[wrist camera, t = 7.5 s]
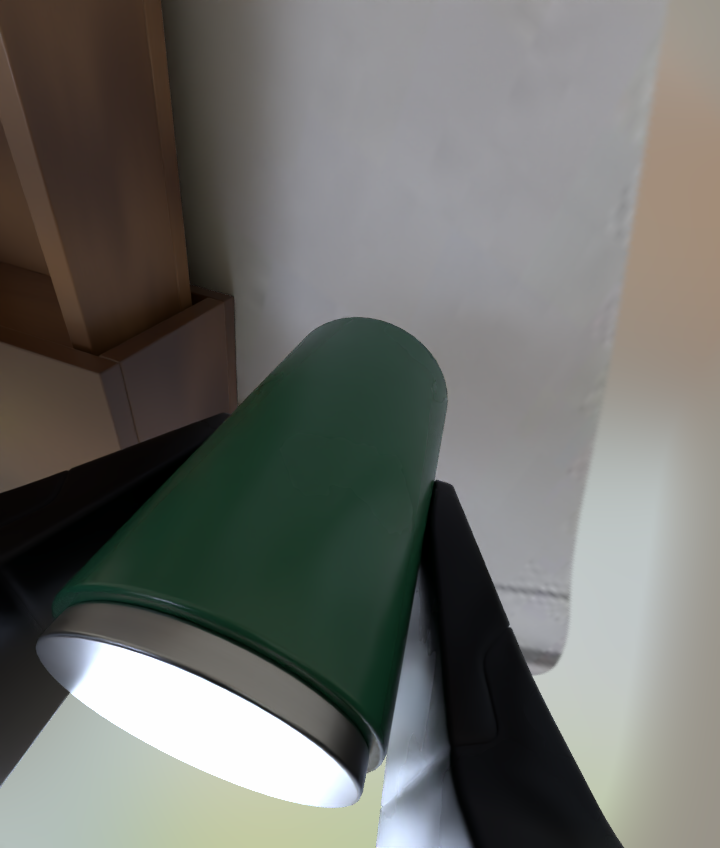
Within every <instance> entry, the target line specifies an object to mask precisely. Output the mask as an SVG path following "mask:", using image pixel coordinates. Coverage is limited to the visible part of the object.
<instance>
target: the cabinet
mask: <svg viewBox="0 0 720 848" xmlns="http://www.w3.org/2000/svg"><path fill="white" fill-rule="evenodd" d="M190 290H191V300H192V306H191V307H189V308H187V309H186V310H184V311H182V312H180V313H178V314H176V315H174V316H172V317H171V318H169V319H167V320H165V321H163V322H161V323H159V324H157V325H156V326H154V327H152V328H150V329H148V330H146V331H144V332H142V333H141V334H139V335H137V336H135V337H133V338H131V339H129V340H127V341H126V342H124V343H122V344H120V345H118V346H116V347H114V348H112V349H110V350H109V351H107V352H105V353H103V354H101V355H100V356H99V357H98V356H95V355H92V354H89V353H86V352H83V351H79V350H76V349H73V348H70V347H67V346H64V345H60V344H57V343H54V342H51V341H48V340H44V339H41V338H38V337H35V336H32V335H29V334H25V333H22V332H19V331H16V330H13V329H10V328H6V327H3V326H0V493H2V492H5V491H8V490H11V489H15V488H18V487H20V486H23V485H26V484H29V483H32V482H35V481H37V480H40V479H43V478H46V477H49V476H51V475H54V474H57V473H59V472H62V471H65V470H68V471H69V470H70V469H71V468H73V467H76V466H79V465H81V464H84V463H87V462H89V461H92V460H95V459H98V458H100V457H103V456H106V455H108V454H111V453H114V452H116V451H119V450H122V449H124V448H127V447H130V446H133V445H135V444H138V443H141V442H143V441H146V440H149V439H151V438H154V437H157V436H160V435H162V434H165V433H168V432H170V431H173V430H176V429H178V428H181V427H184V426H187V425H189V424H192V423H195V422H197V421H200V420H203V419H205V418H208V417H211V416H213V415H216V414H219V413H222V412H225V413H229V414H232V413H233V412H234V411H235V410H236V409H237V380H236V349H235V319H234V297H233V296H230V295H227V294H223V293H220V292H216V291H213V290H209V289H206V288H202V287H198V286H195V285H191V284H190Z"/></svg>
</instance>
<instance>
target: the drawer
mask: <svg viewBox="0 0 720 848" xmlns="http://www.w3.org/2000/svg"><path fill="white" fill-rule="evenodd" d="M191 306H192V300H191V290H190V280H189V271H188V261H187V251H186V241H185V231H184V222H183V212H182V202H181V192H180V182H179V172H178V163H177V153H176V143H175V133H174V123H173V113H172V104H171V94H170V84H169V74H168V64H167V55H166V45H165V35H164V25H163V15H162V5H161V0H0V326H3V327H6V328H10V329H13V330H16V331H19V332H22V333H25V334H29V335H32V336H35V337H38V338H41V339H44V340H48V341H51V342H54V343H57V344H60V345H64V346H67V347H70V348H73V349H76V350H79V351H83V352H86V353H89V354H92V355H95V356H98V357H99V356H100V355H101V354H103V353H105V352H107V351H109V350H110V349H112V348H114V347H116V346H118V345H120V344H122V343H124V342H126V341H127V340H129V339H131V338H133V337H135V336H137V335H139V334H141V333H142V332H144V331H146V330H148V329H150V328H152V327H154V326H156V325H157V324H159V323H161V322H163V321H165V320H167V319H169V318H171V317H172V316H174V315H176V314H178V313H180V312H182V311H184V310H186V309H187V308H189V307H191Z"/></svg>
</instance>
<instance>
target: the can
mask: <svg viewBox="0 0 720 848" xmlns="http://www.w3.org/2000/svg"><path fill="white" fill-rule="evenodd" d="M447 402H448V400H447V388H446V382H445V379H444V376H443V374H442V371H441V369H440V367H439V365H438V363H437V361H436V360H435V359H434V357H433V356H432V354H431V353H430V352H429V351H428V350H427V348H426V347H425V346H424V345H423V344H422V343H421V342H419V341H418V340H417V339H416V338H415V337H414V336H412V335H411V334H409V333H408V332H406V331H405V330H403V329H401V328H399V327H397V326H395V325H393V324H390V323H387V322H384V321H381V320H377V319H372V318H363V317H350V318H342V319H337V320H334V321H331V322H328V323H325V324H323V325H322V326H320V327H318V328H316V329H315V330H314V331H312V332H311V333H310V334H308V335H307V336H306V337H305V338H304V340H303V341H302V342H301V343H300V344H299V345H298V346H297V347H296V348H295V349H294V350H293V351H292V352H291V353H290V354H289V355H288V356H287V357H286V358H285V359H284V360H283V361H282V362H281V363H280V364H279V365H278V366H277V367H276V368H275V369H274V370H273V371H272V372H271V374H270V375H269V376H268V377H267V378H266V379H265V380H264V381H263V382H262V383H261V384H260V385H259V386H258V387H257V388H256V389H255V390H254V391H253V392H252V393H251V394H250V395H249V396H248V397H247V398H246V399H245V400H244V401H243V402H242V403H241V404H240V405H239V406H238V408H237V409H236V410H235V411H234V412H233V413H232V414H231V415H230V416H229V417H228V418H227V419H226V420H225V421H224V422H223V423H222V424H221V425H220V426H219V427H218V428H217V429H216V430H215V431H214V432H213V433H212V434H211V435H210V436H209V437H208V438H207V439H206V440H205V442H204V443H203V444H202V445H201V446H200V447H199V448H198V449H197V450H196V451H195V452H194V453H193V454H192V455H191V456H190V457H189V458H188V459H187V460H186V461H185V462H184V463H183V464H182V465H181V466H180V467H179V468H178V469H177V470H176V471H175V472H174V473H173V474H172V475H171V477H170V478H169V479H168V480H167V481H166V482H165V483H164V484H163V485H162V486H161V487H160V488H159V489H158V490H157V491H156V492H155V493H154V494H153V495H152V496H151V497H150V498H149V499H148V500H147V501H146V502H145V503H144V504H143V505H142V506H141V507H140V508H139V509H138V511H137V512H136V513H135V514H134V515H133V516H132V517H131V518H130V519H129V520H128V521H127V522H126V523H125V524H124V525H123V526H122V527H121V528H120V529H119V530H118V531H117V532H116V533H115V534H114V535H113V536H112V537H111V538H110V539H109V540H108V541H107V542H106V543H105V545H104V546H103V547H102V548H101V549H100V550H99V551H98V552H97V553H96V554H95V555H94V556H93V557H92V558H91V559H90V560H89V561H88V562H87V563H86V564H85V565H84V566H83V567H82V568H81V569H80V570H79V571H78V572H77V573H76V574H75V575H74V576H73V577H72V578H71V580H70V581H69V582H68V583H67V584H66V585H65V586H64V587H63V588H62V589H61V590H60V591H59V592H58V593H57V594H56V596H55V598H54V601H53V604H52V607H51V609H52V617H53V619H54V622H53V623H52V624H51V625H50V626H49V627H48V628H47V629H46V631H45V632H44V633H43V634H42V635H41V636H40V637H39V639H38V641H37V644H36V652H37V655H38V657H39V659H40V661H41V663H42V664H43V665H44V667H45V668H46V669H47V671H48V672H49V673H50V674H51V675H52V676H53V677H54V678H55V679H56V680H57V681H58V682H59V683H60V684H61V685H62V686H63V687H64V688H65V689H66V690H68V691H69V692H70V693H71V694H73V695H74V696H75V697H76V698H78V699H79V700H80V701H82V702H83V703H84V704H86V705H87V706H88V707H90V708H91V709H93V710H94V711H96V712H97V713H98V714H100V715H101V716H103V717H105V718H106V719H108V720H109V721H111V722H112V723H114V724H115V725H117V726H119V727H121V728H122V729H124V730H126V731H127V732H129V733H130V734H132V735H134V736H136V737H138V738H139V739H141V740H143V741H145V742H146V743H149V744H150V745H152V746H154V747H156V748H158V749H159V750H162V751H164V752H165V753H167V754H169V755H172V756H173V757H175V758H177V759H179V760H182V761H184V762H186V763H188V764H190V765H192V766H195V767H197V768H199V769H201V770H203V771H206V772H208V773H210V774H213V775H215V776H217V777H220V778H222V779H225V780H227V781H230V782H232V783H235V784H237V785H240V786H243V787H246V788H248V789H251V790H254V791H257V792H260V793H263V794H266V795H269V796H273V797H276V798H280V799H283V800H287V801H291V802H295V803H299V804H305V805H310V806H317V807H326V808H327V807H328V808H337V807H346V806H350V805H353V804H355V803H356V802H357V801H358V800H359V799H360V796H361V795H362V792H363V788H364V782H365V778H366V773H368V772H371V771H373V770H375V769H376V768H378V767H379V766H380V765H381V764H382V762H383V760H384V758H385V756H386V754H387V751H388V745H389V739H390V734H391V728H392V722H393V716H394V711H395V705H396V699H397V693H398V687H399V682H400V676H401V670H402V664H403V659H404V653H405V647H406V641H407V636H408V630H409V624H410V618H411V612H412V607H413V601H414V595H415V589H416V584H417V578H418V572H419V566H420V561H421V555H422V549H423V543H424V537H425V531H426V525H427V519H428V514H429V508H430V502H431V496H432V491H433V485H434V480H435V474H436V468H437V462H438V457H439V451H440V445H441V439H442V434H443V428H444V422H445V416H446V410H447Z"/></svg>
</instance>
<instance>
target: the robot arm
mask: <svg viewBox="0 0 720 848" xmlns="http://www.w3.org/2000/svg"><path fill="white" fill-rule="evenodd" d="M230 415H231V414H229V413H225V412H222V413H219V414H216V415H213V416H211V417H208V418H205V419H203V420H200V421H197V422H195V423H192V424H189V425H187V426H184V427H181V428H178V429H176V430H173V431H170V432H168V433H165V434H162V435H160V436H157V437H154V438H151V439H149V440H146V441H143V442H141V443H138V444H135V445H133V446H130V447H127V448H124V449H122V450H119V451H116V452H114V453H111V454H108V455H106V456H103V457H100V458H98V459H95V460H92V461H89V462H87V463H84V464H81V465H79V466H76V467H73V468H71V469H70V470H69V471H68V470H65V471H62V472H59V473H57V474H54V475H51V476H49V477H46V478H43V479H40V480H37V481H35V482H32V483H29V484H26V485H23V486H20V487H18V488H15V489H11V490H8V491H5V492H2V493H0V788H1V786H2V785H3V784H4V782H5V781H6V779H7V778H8V777H9V775H10V774H11V772H12V771H13V770H14V769H15V767H16V766H17V764H18V763H19V761H20V760H21V759H22V758H23V756H24V755H25V753H26V752H27V751H28V749H29V748H30V747H31V745H32V744H33V743H34V741H35V740H36V739H37V737H38V736H39V734H40V733H41V732H42V730H43V729H44V728H45V726H46V725H47V724H48V722H49V721H50V719H51V718H52V716H53V715H54V714H55V713H56V711H57V710H58V709H59V707H60V706H61V704H62V703H63V702H64V700H65V699H66V698H67V696H68V695H69V693H70V692H69V691H68V690H66V689H65V688H64V687H63V686H62V685H61V684H60V683H59V682H58V681H57V680H56V679H55V678H54V677H53V676H52V675H51V674H50V673H49V672H48V671H47V669H46V668H45V667H44V665H43V664H42V663H41V661H40V659H39V657H38V655H37V652H36V644H37V641H38V639H39V637H40V636H41V635H42V634H43V633H44V632H45V631H46V629H47V628H48V627H49V626H50V625H51V624H52V623H53V622H54V619H53V617H52V609H51V607H52V604H53V601H54V598H55V596H56V594H57V593H58V592H59V591H60V590H61V589H62V588H63V587H64V586H65V585H66V584H67V583H68V582H69V581H70V580H71V578H72V577H73V576H74V575H75V574H76V573H77V572H78V571H79V570H80V569H81V568H82V567H83V566H84V565H85V564H86V563H87V562H88V561H89V560H90V559H91V558H92V557H93V556H94V555H95V554H96V553H97V552H98V551H99V550H100V549H101V548H102V547H103V546H104V545H105V543H106V542H107V541H108V540H109V539H110V538H111V537H112V536H113V535H114V534H115V533H116V532H117V531H118V530H119V529H120V528H121V527H122V526H123V525H124V524H125V523H126V522H127V521H128V520H129V519H130V518H131V517H132V516H133V515H134V514H135V513H136V512H137V511H138V509H139V508H140V507H141V506H142V505H143V504H144V503H145V502H146V501H147V500H148V499H149V498H150V497H151V496H152V495H153V494H154V493H155V492H156V491H157V490H158V489H159V488H160V487H161V486H162V485H163V484H164V483H165V482H166V481H167V480H168V479H169V478H170V477H171V475H172V474H173V473H174V472H175V471H176V470H177V469H178V468H179V467H180V466H181V465H182V464H183V463H184V462H185V461H186V460H187V459H188V458H189V457H190V456H191V455H192V454H193V453H194V452H195V451H196V450H197V449H198V448H199V447H200V446H201V445H202V444H203V443H204V442H205V440H206V439H207V438H208V437H209V436H210V435H211V434H212V433H213V432H214V431H215V430H216V429H217V428H218V427H219V426H220V425H221V424H222V423H223V422H224V421H225V420H226V419H227V418H228V417H229V416H230ZM509 625H510V623H509V621H508V618H507V616H506V613H505V611H504V609H503V606H502V604H501V601H500V599H499V596H498V594H497V592H496V589H495V587H494V584H493V582H492V579H491V577H490V575H489V572H488V570H487V567H486V565H485V562H484V560H483V558H482V555H481V553H480V550H479V548H478V545H477V543H476V540H475V538H474V536H473V533H472V531H471V528H470V526H469V523H468V521H467V519H466V516H465V514H464V511H463V509H462V506H461V504H460V502H459V499H458V497H457V494H456V492H455V489H454V487H453V486H452V485H451V484H449V483H446V482H442V481H439V480H435V481H434V485H433V491H432V496H431V502H430V508H429V514H428V519H427V525H426V531H425V537H424V543H423V549H422V555H421V561H420V566H419V572H418V578H417V584H416V589H415V595H414V601H413V607H412V612H411V618H410V624H409V630H408V636H407V641H406V647H405V653H404V659H403V664H402V670H401V676H400V682H399V687H398V693H397V699H396V705H395V711H394V716H393V722H392V728H391V734H390V739H389V745H388V751H387V757H386V766H385V775H384V783H383V792H382V801H381V806H382V808H381V810H380V817H379V827H378V835H377V843H376V848H624V847H623V846H622V844H621V843H620V841H619V840H618V838H617V837H616V835H615V833H614V832H613V830H612V828H611V827H610V825H609V824H608V822H607V820H606V819H605V817H604V815H603V813H602V811H601V810H600V808H599V806H598V804H597V802H596V800H595V798H594V796H593V794H592V793H591V790H590V789H589V787H588V785H587V783H586V781H585V779H584V777H583V775H582V773H581V771H580V769H579V767H578V765H577V764H576V762H575V760H574V758H573V756H572V754H571V752H570V750H569V748H568V746H567V744H566V742H565V741H564V739H563V737H562V735H561V733H560V731H559V729H558V727H557V725H556V723H555V721H554V719H553V717H552V716H551V713H550V711H549V709H548V708H547V706H546V703H545V701H544V699H543V698H542V695H541V693H540V692H539V689H538V687H537V685H536V683H535V681H534V679H533V677H532V675H531V672H530V670H529V668H528V666H527V663H526V661H525V659H524V656H523V654H522V652H521V650H520V647H519V645H518V642H517V640H516V638H515V635H514V633H513V630H512V628H510V627H509Z"/></svg>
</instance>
